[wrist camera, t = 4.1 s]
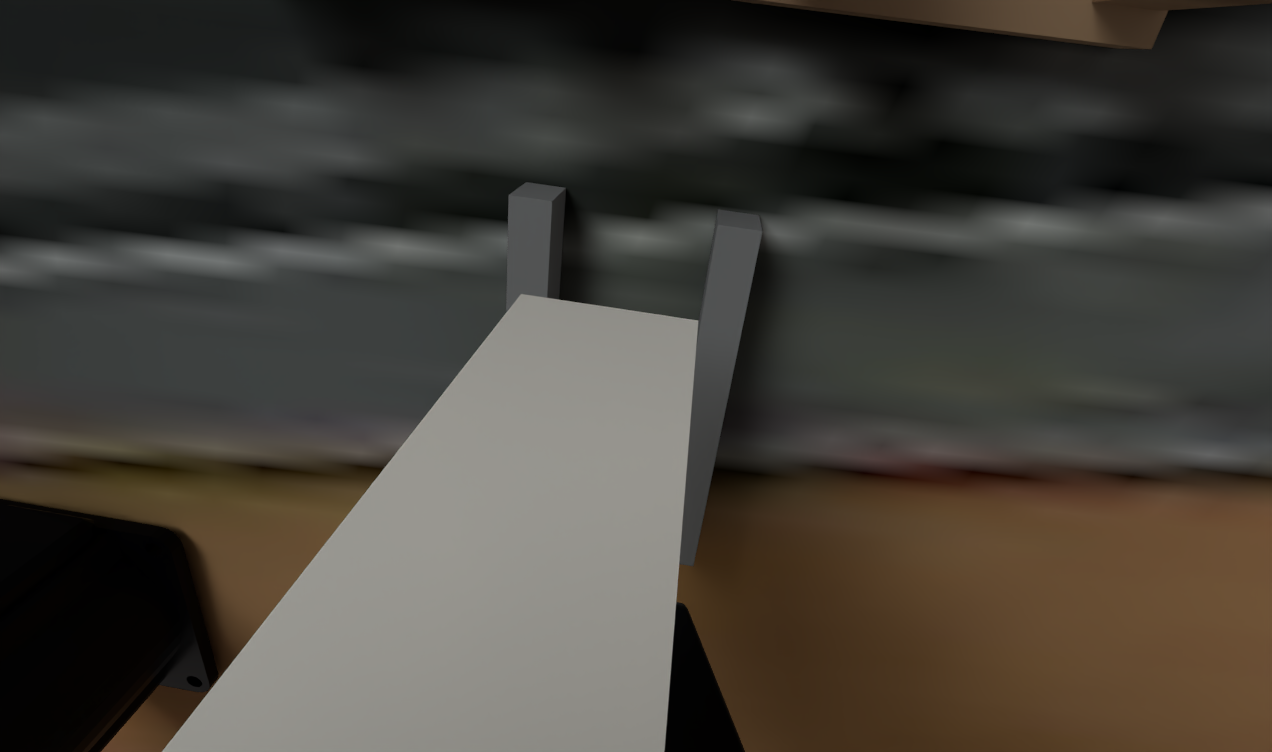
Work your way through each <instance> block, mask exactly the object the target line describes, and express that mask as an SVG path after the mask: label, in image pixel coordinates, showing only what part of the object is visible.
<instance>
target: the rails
mask: <svg viewBox="0 0 1272 752" xmlns="http://www.w3.org/2000/svg"><path fill="white" fill-rule="evenodd" d="M565 197H566V188H563V187H556V186H549V185H542V184H535V183H528V182H526V183H525V184H523V185H522V186H520V187H519V188H518V189H516V190H515V191H514V192H512V193H511V194H510V195H509V206H508V252H507V298H506V312H507V311H508V310H509V309H510V307H511V306H512V305H513V304H514V302H515V301H516V300H517V298H518V297H519V296H520V295H521V294H525V295H532V296H538V297H545V298H551V299H558V300H559V294H560V278H561V262H562V245H563V229H564V213H565ZM761 236H762V227H761V222H760V218H759V215H755V214H748V213H741V212H733V211H726V210H719V209H718V211H717V217H716V223H715V229H714V235H713V241H712V246H711V252H710V258H709V264H708V270H707V276H706V281H705V287H704V293H703V299H702V305H701V311H700V316H699V322H698V331H697V344H696V357H695V369H694V382H693V395H692V408H691V420H690V433H689V446H688V458H687V471H686V484H685V497H684V509H683V522H682V535H681V547H680V560H679V564H683V565H689V566H693V565H694V560H695V555H696V551H697V546H698V541H699V536H700V531H701V526H702V522H703V517H704V512H705V507H706V502H707V497H708V492H709V488H710V483H711V478H712V473H713V468H714V463H715V459H716V454H717V449H718V444H719V439H720V434H721V430H722V425H723V420H724V415H725V410H726V405H727V400H728V396H729V391H730V386H731V381H732V376H733V371H734V367H735V362H736V357H737V352H738V347H739V342H740V337H741V333H742V328H743V323H744V318H745V313H746V308H747V304H748V299H749V294H750V289H751V284H752V279H753V275H754V270H755V265H756V260H757V255H758V250H759V245H760V241H761Z"/></svg>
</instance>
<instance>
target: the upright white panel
mask: <svg viewBox="0 0 1272 752" xmlns="http://www.w3.org/2000/svg"><path fill="white" fill-rule="evenodd" d="M697 331H698V320H691V319H684V318H678V317H671V316H664V315H658V314H651V313H644V312H638V311H631V310H625V309H618V308H611V307H605V306H598V305H591V304H585V303H578V302H571V301H565V300H558V299H551V298H545V297H538V296H532V295H525V294H521V295H520V296H519V297H518V298H517V300H516V301H515V302H514V304H513V305H512V306H511V307H510V309H509V310H508V311H507V312H506V314H505V315H504V316H503V318H502V319H501V320H500V321H499V323H498V324H497V325H496V327H495V328H494V329H493V330H492V332H491V333H490V334H489V335H488V337H487V338H486V339H485V341H484V342H483V343H482V344H481V346H480V347H479V348H478V349H477V351H476V352H475V353H474V355H473V356H472V357H471V358H470V360H469V361H468V362H467V363H466V365H465V366H464V367H463V369H462V370H461V371H460V372H459V374H458V375H457V376H456V378H455V379H454V380H453V381H452V383H451V384H450V385H449V386H448V388H447V389H446V390H445V392H444V393H443V394H442V395H441V397H440V398H439V399H438V400H437V402H436V403H435V404H434V406H433V407H432V408H431V409H430V411H429V412H428V413H427V414H426V416H425V417H424V418H423V420H422V421H421V422H420V423H419V425H418V426H417V427H416V429H415V430H414V431H413V432H412V434H411V435H410V436H409V437H408V439H407V440H406V441H405V443H404V444H403V445H402V446H401V448H400V449H399V450H398V451H397V453H396V454H395V455H394V457H393V458H392V459H391V460H390V462H389V463H388V464H387V466H386V467H385V468H384V469H383V471H382V472H381V473H380V474H379V476H378V477H377V478H376V480H375V481H374V482H373V483H372V485H371V486H370V487H369V488H368V490H367V491H366V492H365V494H364V495H363V496H362V497H361V499H360V500H359V501H358V502H357V504H356V505H355V506H354V508H353V509H352V510H351V511H350V513H349V514H348V515H347V517H346V518H345V519H344V520H343V522H342V523H341V524H340V525H339V527H338V528H337V529H336V531H335V532H334V533H333V534H332V536H331V537H330V538H329V539H328V541H327V542H326V543H325V545H324V546H323V547H322V548H321V550H320V551H319V552H318V553H317V555H316V556H315V557H314V559H313V560H312V561H311V562H310V564H309V565H308V566H307V568H306V569H305V570H304V571H303V573H302V574H301V575H300V576H299V578H298V579H297V580H296V582H295V583H294V584H293V585H292V587H291V588H290V589H289V590H288V592H287V593H286V594H285V596H284V597H283V598H282V599H281V601H280V602H279V603H278V604H277V606H276V607H275V608H274V610H273V611H272V612H271V613H270V615H269V616H268V617H267V619H266V620H265V621H264V622H263V624H262V625H261V626H260V627H259V629H258V630H257V631H256V633H255V634H254V635H253V636H252V638H251V639H250V640H249V641H248V643H247V644H246V645H245V647H244V648H243V649H242V650H241V652H240V653H239V654H238V655H237V657H236V658H235V659H234V661H233V662H232V663H231V664H230V666H229V667H228V668H227V670H226V671H225V672H224V673H223V675H222V676H221V677H220V678H219V680H218V681H217V682H216V684H215V685H214V686H213V687H212V689H211V690H210V691H209V692H208V694H207V695H206V696H205V698H204V699H203V700H202V701H201V703H200V704H199V705H198V706H197V708H196V709H195V710H194V712H193V713H192V714H191V715H190V717H189V718H188V719H187V721H186V722H185V723H184V724H183V726H182V727H181V728H180V729H179V731H178V732H177V733H176V735H175V736H174V737H173V738H172V740H171V741H170V742H169V743H168V745H167V746H166V747H165V749H164V750H163V751H162V752H664V751H665V738H666V725H667V713H668V700H669V687H670V675H671V662H672V649H673V636H674V624H675V611H676V598H677V586H678V573H679V560H680V547H681V535H682V522H683V509H684V497H685V484H686V471H687V458H688V446H689V433H690V420H691V408H692V395H693V382H694V369H695V357H696V344H697Z"/></svg>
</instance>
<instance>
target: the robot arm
mask: <svg viewBox="0 0 1272 752" xmlns="http://www.w3.org/2000/svg"><path fill="white" fill-rule="evenodd" d="M217 678H218V671H217V668H216V664H215V661H214V657H213V653H212V650H211V646H210V643H209V639H208V635H207V632H206V628H205V625H204V621H203V617H202V614H201V610H200V607H199V603H198V599H197V596H196V592H195V589H194V585H193V582H192V578H191V574H190V571H189V567H188V564H187V560H186V556H185V553H184V549H183V546H182V543H181V541H180V539H179V537H178V536H177V535H176V534H175V533H174V532H172V531H170V530H169V529H166V528H163V527H159V526H154V525H148V524H142V523H136V522H130V521H125V520H119V519H113V518H107V517H101V516H96V515H90V514H84V513H78V512H72V511H67V510H61V509H55V508H49V507H43V506H37V505H32V504H26V503H20V502H14V501H8V500H3V499H0V752H101V751H102V750H103V749H104V747H105V746H106V745H107V744H108V743H109V742H110V741H111V739H112V738H113V737H114V736H115V735H116V734H117V732H118V731H119V730H120V729H121V728H122V727H123V726H124V724H125V723H126V722H127V721H128V720H129V719H130V718H131V716H132V715H133V714H134V713H135V712H136V711H137V710H138V708H139V707H140V706H141V705H142V704H143V703H144V701H145V700H146V699H147V698H148V697H149V696H150V695H151V693H152V692H153V691H154V690H155V689H156V688H157V687H158V685H163V686H168V687H173V688H179V689H184V690H190V691H195V692H205V691H208V689H209V688H210V687H211V686H212V684H213V683H214V682H215V681H216V679H217ZM664 752H745V750H744V748H743V745H742V743H741V740H740V738H739V735H738V733H737V730H736V728H735V725H734V723H733V720H732V718H731V715H730V713H729V710H728V708H727V705H726V703H725V701H724V698H723V696H722V693H721V691H720V688H719V686H718V683H717V681H716V678H715V676H714V673H713V671H712V668H711V666H710V663H709V661H708V658H707V656H706V653H705V651H704V648H703V646H702V643H701V641H700V638H699V636H698V633H697V631H696V628H695V626H694V623H693V621H692V618H691V616H690V613H689V611H688V609H687V607H686V606H685V605H684V604H682V603H678V602H676V611H675V624H674V636H673V649H672V662H671V675H670V687H669V700H668V713H667V725H666V738H665V751H664Z"/></svg>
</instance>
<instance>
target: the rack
mask: <svg viewBox="0 0 1272 752" xmlns="http://www.w3.org/2000/svg"><path fill="white" fill-rule="evenodd" d="M733 1H741V2H749V3H757V4H765V5H773V6H781V7H789V8H797V9H805V10H813V11H821V12H829V13H837V14H845V15H853V16H861V17H869V18H877V19H885V20H893V21H901V22H909V23H917V24H925V25H933V26H941V27H949V28H956V29H964V30H972V31H980V32H988V33H996V34H1004V35H1012V36H1020V37H1028V38H1036V39H1044V40H1052V41H1060V42H1068V43H1076V44H1084V45H1092V46H1100V47H1108V48H1118V49H1152V47H1153V45H1154V43H1155V40H1156V38H1157V36H1158V33H1159V31H1160V29H1161V26H1162V24H1163V22H1164V19H1165V17H1166V15H1167V12H1168V10H1180V9H1195V8H1210V7H1225V6H1240V5H1256V4H1271V3H1272V0H733Z"/></svg>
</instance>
